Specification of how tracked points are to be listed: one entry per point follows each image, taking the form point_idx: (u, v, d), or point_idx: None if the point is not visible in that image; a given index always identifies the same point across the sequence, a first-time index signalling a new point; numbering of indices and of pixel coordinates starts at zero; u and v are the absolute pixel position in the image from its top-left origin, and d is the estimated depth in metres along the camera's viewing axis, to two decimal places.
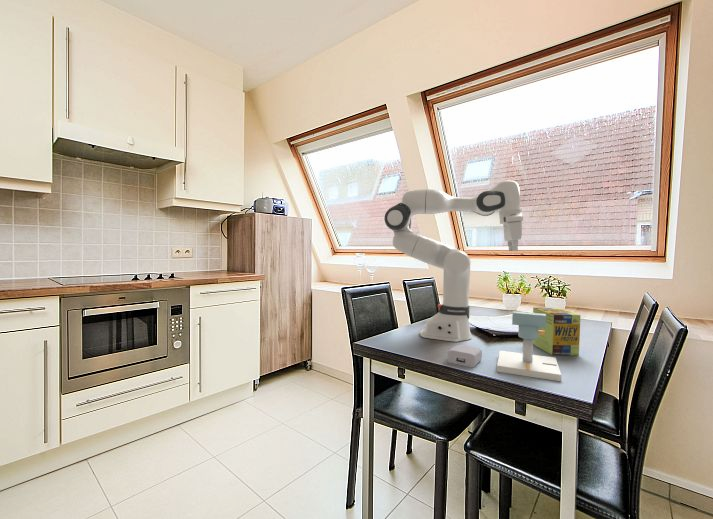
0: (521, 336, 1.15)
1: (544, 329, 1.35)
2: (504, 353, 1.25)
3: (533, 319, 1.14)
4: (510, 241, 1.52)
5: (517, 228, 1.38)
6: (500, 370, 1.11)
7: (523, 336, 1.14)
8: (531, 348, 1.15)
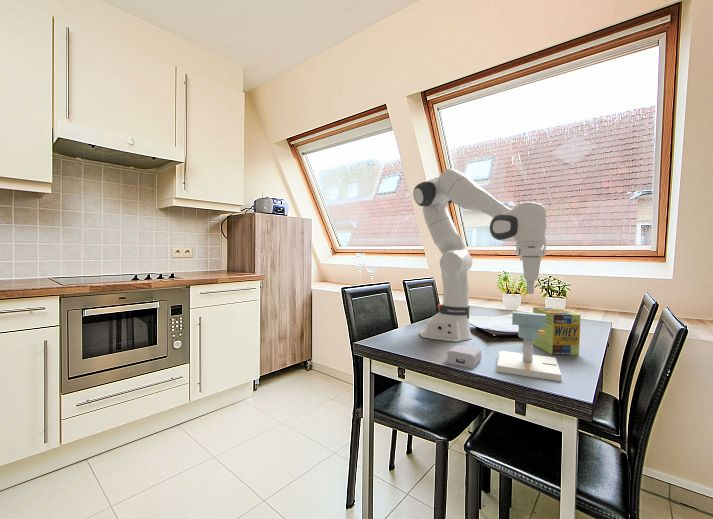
0: (521, 336, 1.15)
1: (544, 329, 1.35)
2: (504, 353, 1.25)
3: (533, 319, 1.14)
4: None
5: (533, 266, 1.06)
6: (500, 370, 1.11)
7: (523, 336, 1.14)
8: (531, 348, 1.15)
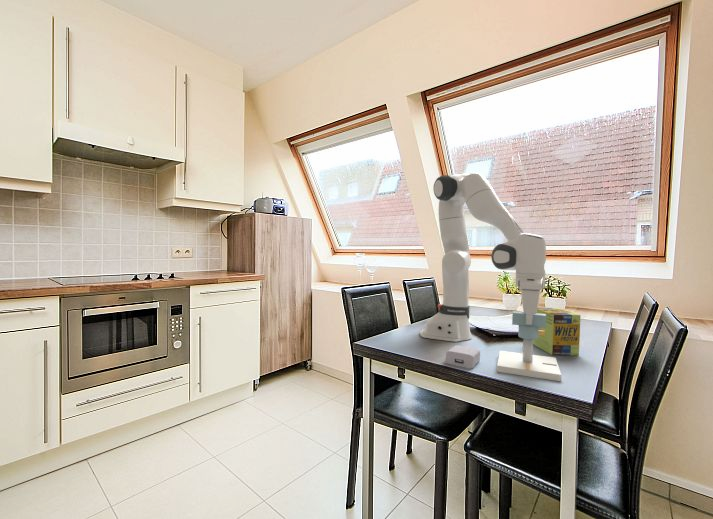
0: (521, 336, 1.15)
1: (544, 329, 1.35)
2: (504, 353, 1.25)
3: (533, 319, 1.14)
4: None
5: (532, 299, 1.06)
6: (500, 370, 1.11)
7: (523, 336, 1.14)
8: (531, 348, 1.15)
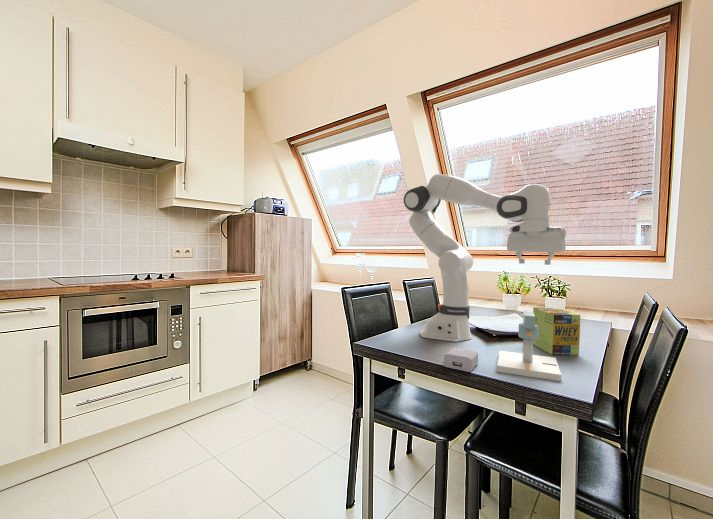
0: None
1: (544, 329, 1.35)
2: (504, 353, 1.25)
3: None
4: None
5: None
6: (500, 370, 1.11)
7: None
8: (531, 348, 1.15)
